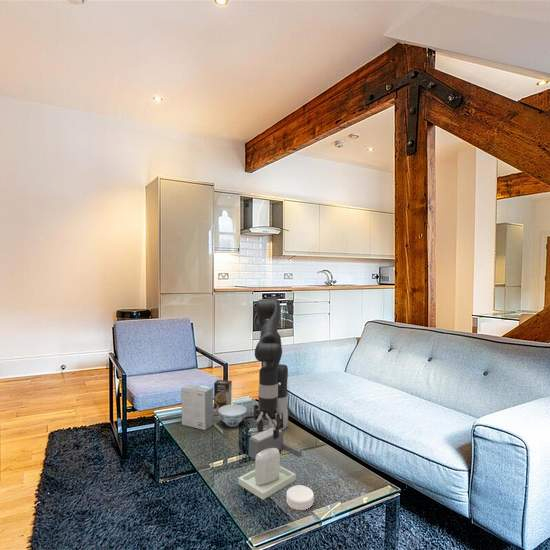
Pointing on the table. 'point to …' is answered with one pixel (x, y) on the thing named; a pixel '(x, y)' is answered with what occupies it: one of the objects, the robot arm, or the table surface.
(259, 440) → the dock
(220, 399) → the coffee box
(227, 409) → the chinaware
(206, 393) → the hard drive box
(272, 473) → the photo printer
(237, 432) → the table surface
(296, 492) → the white round puck
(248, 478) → the tray
